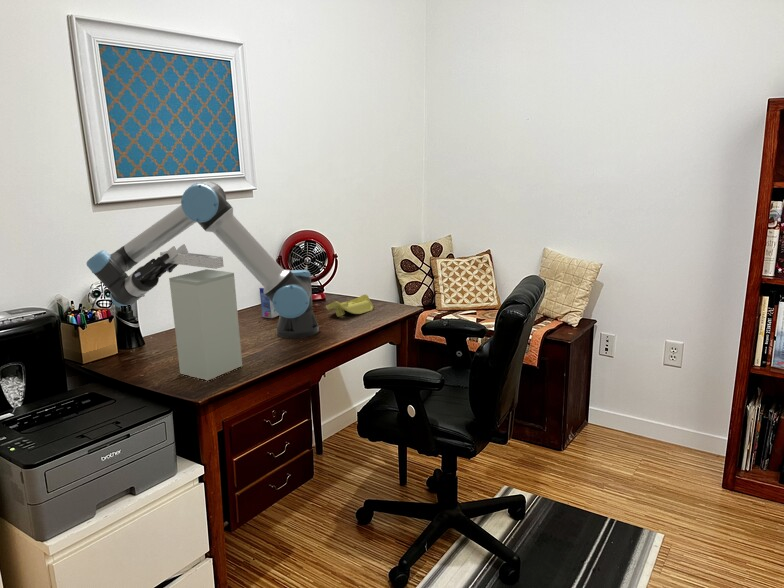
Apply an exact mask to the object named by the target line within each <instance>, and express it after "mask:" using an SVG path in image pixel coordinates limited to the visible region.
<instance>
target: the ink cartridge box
mask: <svg viewBox="0 0 784 588" xmlns="http://www.w3.org/2000/svg"><path fill="white" fill-rule="evenodd" d="M259 296H260V305H261V306H260V307H261V315H262V317H263V318H266V319H267V318H268V319H273V318H276V317H278V316H279V317H280V315H279V314H278V313H277V312H276V311H275V309H274V306H273V303H272V302H271V301H270V299H269V298H268V297H267V296H266V295H265V294H264V286H262V287H259Z"/></svg>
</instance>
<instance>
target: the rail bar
mask: <svg viewBox="0 0 784 588" xmlns="http://www.w3.org/2000/svg"><path fill="white" fill-rule="evenodd" d="M167 251H168V250H165V251H162V252H159V257H161V256H162V255H163V254H164V253H166V252H167ZM164 263H165V262H164ZM168 263H172V264H179V265H183V266H189V267H198V268H204V269H212V270H215V269H216V270H217V269H220V268H224V267H225V266H224V257H223V256H221V255H220V256H218V255H211V254H203V253H202V254H201V253H191V252H188V253H183V252H178V255H177V256H176V257H174V258H173V259H172V260H171V261H170V262H168Z"/></svg>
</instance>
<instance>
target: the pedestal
mask: <svg viewBox="0 0 784 588" xmlns="http://www.w3.org/2000/svg"><path fill="white" fill-rule="evenodd" d="M168 282H169V291H170V297H171V305H172V306H171V307H172V315H173V323H174V331H175V341H176V350H177V357H178V358H177V359H178V366H179V367H178V368H179V374H180V373H181V374H185V375H189V376H193V377H197V378H201V379H205V380H209V379H211V378H213V377H216V376H218V375H220V374H222V373H225V372H227V371H230V370H232V369H235V368H237V367H240V366H242V367H243V359H242V358H243V357H242V348H241V347H242V345H241V337H240V325H239V314H238V313H239V312H238V304H237V303H238V302H237V293H236V283H235V282H236V279H235V272H233V271H231V272H230V271H224V270H223V271H222V270H217V269H216V270H215V269H209V268H204V269H203V270H202V269H201V270H198V271H193V272H190V273H185V274H181V275H177V276H173V277H169V281H168Z"/></svg>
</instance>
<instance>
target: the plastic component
mask: <svg viewBox="0 0 784 588" xmlns="http://www.w3.org/2000/svg"><path fill="white" fill-rule="evenodd" d="M325 308H326V310H328V311H331V310H334V312H335V315H336V317H337V318H338V317H342V316H344V315H345V314H346V312H348V313H350V314H354V315H361V314H364V313H368V312H371V311H373V309H374V306H373V303H372V301H371V300H370V297H369V295H368V294H362V295H361V296H358V297H356V298H353V299H351V300H348V301H347V300H346V301H344V302H339V301H333V302H331V303H328V304H327V305H325ZM345 311H346V312H345Z"/></svg>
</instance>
